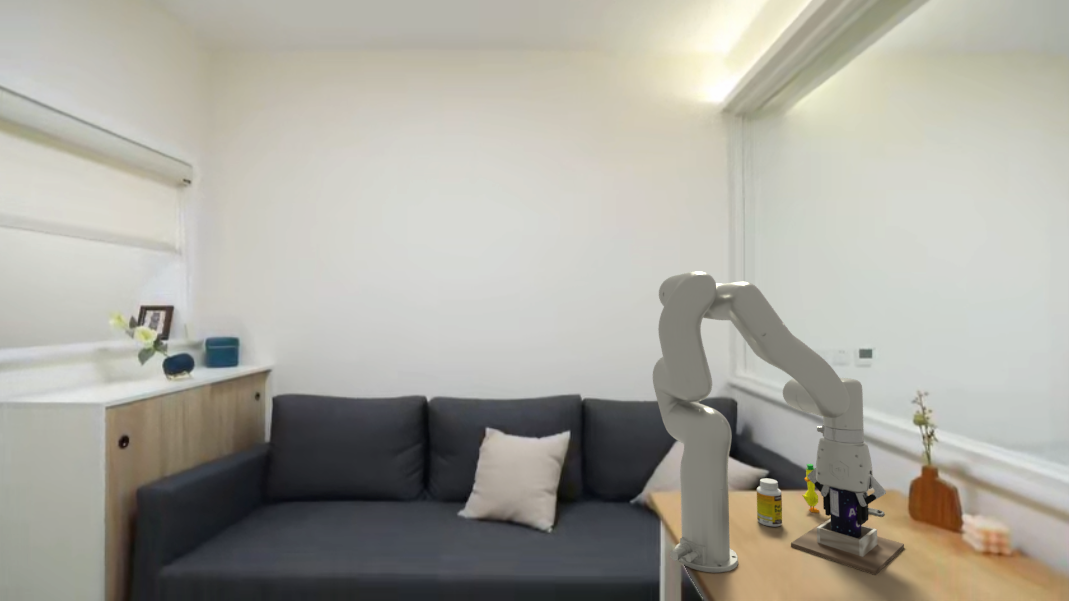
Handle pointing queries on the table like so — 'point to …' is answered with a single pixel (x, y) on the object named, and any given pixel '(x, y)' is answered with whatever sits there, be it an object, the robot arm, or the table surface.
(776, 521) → the supplement bottle
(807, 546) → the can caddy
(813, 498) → the toy figure
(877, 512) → the strap clip
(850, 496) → the beverage can
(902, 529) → the table surface
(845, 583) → the table surface
